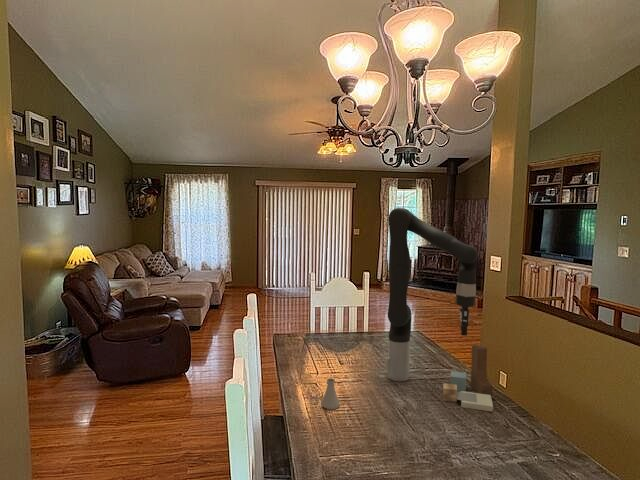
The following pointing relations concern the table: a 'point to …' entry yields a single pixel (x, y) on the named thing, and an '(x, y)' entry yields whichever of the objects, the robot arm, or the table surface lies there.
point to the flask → (330, 396)
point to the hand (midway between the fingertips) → (463, 332)
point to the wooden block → (480, 370)
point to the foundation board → (475, 401)
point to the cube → (459, 380)
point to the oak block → (450, 392)
